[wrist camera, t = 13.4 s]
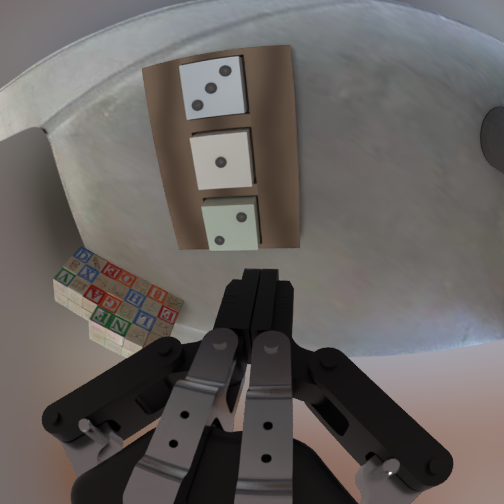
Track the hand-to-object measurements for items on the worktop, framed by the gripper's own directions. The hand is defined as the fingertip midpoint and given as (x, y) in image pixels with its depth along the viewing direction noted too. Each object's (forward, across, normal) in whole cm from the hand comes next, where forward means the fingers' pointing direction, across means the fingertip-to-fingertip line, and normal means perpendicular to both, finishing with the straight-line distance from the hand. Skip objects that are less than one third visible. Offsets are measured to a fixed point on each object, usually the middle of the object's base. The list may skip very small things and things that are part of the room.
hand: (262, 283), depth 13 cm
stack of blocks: (+23, +28, +21) cm, 42 cm away
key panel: (+23, +6, 0) cm, 24 cm away
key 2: (+21, +6, +8) cm, 24 cm away
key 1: (+22, +6, 0) cm, 23 cm away
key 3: (+22, +6, -8) cm, 24 cm away
